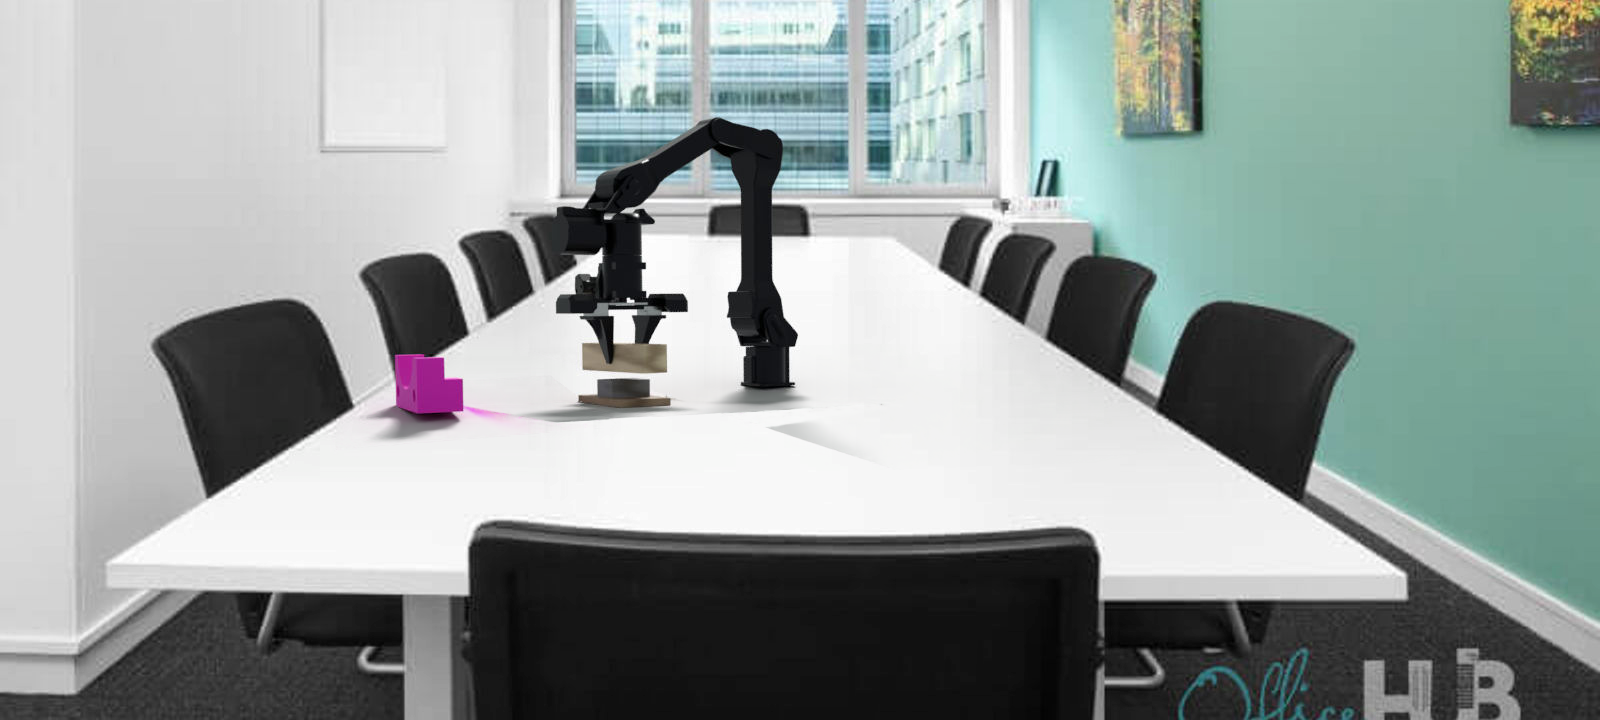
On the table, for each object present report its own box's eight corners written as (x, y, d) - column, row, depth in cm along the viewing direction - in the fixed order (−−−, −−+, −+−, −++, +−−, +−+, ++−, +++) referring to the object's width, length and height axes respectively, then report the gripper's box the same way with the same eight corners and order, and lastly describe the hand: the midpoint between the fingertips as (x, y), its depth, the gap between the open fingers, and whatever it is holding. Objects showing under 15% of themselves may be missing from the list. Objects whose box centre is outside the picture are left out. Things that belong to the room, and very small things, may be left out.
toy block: (463, 411, 186) (462, 357, 186) (417, 413, 183) (416, 358, 183) (439, 404, 199) (438, 353, 199) (396, 406, 197) (395, 355, 196)
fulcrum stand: (627, 399, 204) (627, 376, 204) (670, 404, 192) (670, 380, 192) (578, 401, 199) (578, 378, 199) (619, 407, 188) (619, 382, 188)
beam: (605, 368, 203) (604, 342, 203) (667, 372, 191) (666, 344, 191) (582, 369, 200) (582, 343, 200) (643, 373, 188) (643, 345, 188)
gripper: (654, 258, 207) (655, 359, 207) (540, 256, 197) (541, 363, 197) (689, 255, 197) (690, 361, 198) (570, 254, 187) (572, 366, 188)
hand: (623, 363), depth 196 cm, fingers closed on beam, 4 cm apart
